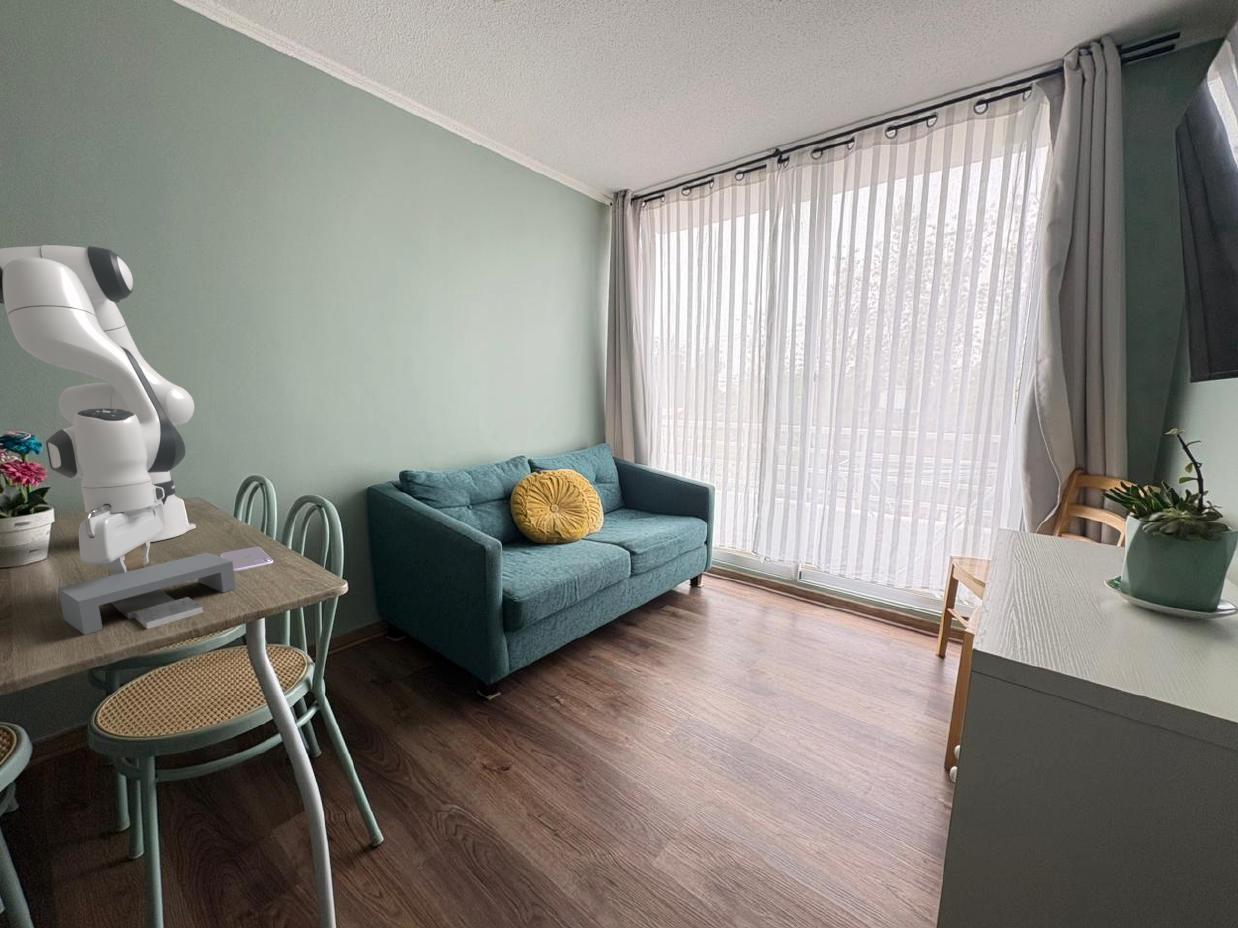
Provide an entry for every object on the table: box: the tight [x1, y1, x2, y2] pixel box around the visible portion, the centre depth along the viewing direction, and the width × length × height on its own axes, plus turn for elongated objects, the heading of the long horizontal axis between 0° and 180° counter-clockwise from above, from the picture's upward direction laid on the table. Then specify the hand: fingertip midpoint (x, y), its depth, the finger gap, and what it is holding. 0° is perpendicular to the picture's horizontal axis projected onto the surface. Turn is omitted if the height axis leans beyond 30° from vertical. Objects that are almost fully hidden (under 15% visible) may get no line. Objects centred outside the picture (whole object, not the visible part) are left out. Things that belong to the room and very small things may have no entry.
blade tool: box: [106, 545, 176, 620], centre depth 86 cm, size 16×6×9 cm, turn 57°
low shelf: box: [57, 552, 237, 636], centre depth 85 cm, size 10×20×6 cm, turn 151°
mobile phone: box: [219, 546, 274, 572], centre depth 108 cm, size 8×1×15 cm
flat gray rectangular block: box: [134, 596, 204, 630], centre depth 81 cm, size 7×7×2 cm
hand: (131, 571), depth 89 cm, fingers open, 5 cm apart
